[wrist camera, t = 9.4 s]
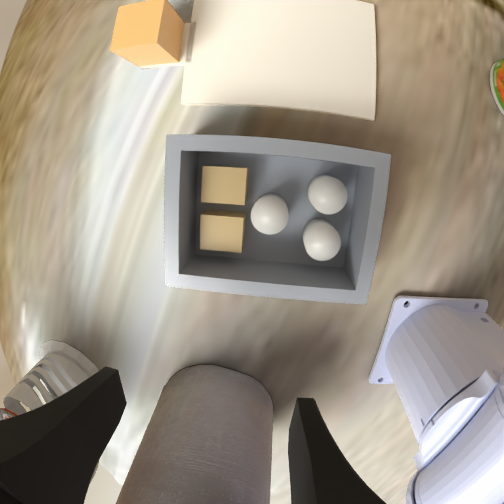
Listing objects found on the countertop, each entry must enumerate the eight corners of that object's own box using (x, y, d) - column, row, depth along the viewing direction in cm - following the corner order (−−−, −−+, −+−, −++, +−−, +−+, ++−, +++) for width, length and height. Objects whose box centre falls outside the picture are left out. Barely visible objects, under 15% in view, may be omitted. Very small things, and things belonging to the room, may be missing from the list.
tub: (368, 154, 17) (391, 154, 13) (350, 276, 19) (366, 304, 15) (189, 138, 17) (166, 134, 14) (185, 261, 20) (165, 285, 16)
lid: (371, 8, 14) (392, -22, 9) (371, 121, 16) (398, 112, 12) (154, 0, 14) (128, -28, 10) (138, 107, 17) (103, 97, 13)
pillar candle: (200, 441, 26) (170, 566, 12) (144, 376, 23) (72, 516, 9) (290, 422, 24) (292, 571, 10) (242, 346, 22) (210, 541, 7)
